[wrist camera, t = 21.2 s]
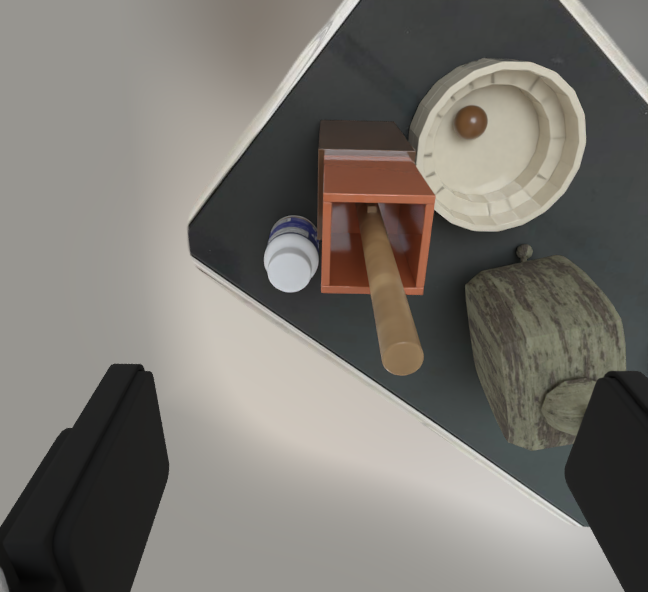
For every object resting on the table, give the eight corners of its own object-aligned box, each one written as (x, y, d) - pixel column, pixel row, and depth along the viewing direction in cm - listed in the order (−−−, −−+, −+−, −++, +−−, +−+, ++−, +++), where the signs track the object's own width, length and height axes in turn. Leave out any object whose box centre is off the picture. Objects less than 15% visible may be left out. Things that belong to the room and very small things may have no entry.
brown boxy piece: (320, 119, 47) (315, 185, 27) (394, 121, 47) (444, 188, 27) (319, 192, 50) (314, 298, 30) (388, 193, 50) (428, 301, 30)
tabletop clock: (543, 340, 58) (673, 528, 36) (466, 355, 59) (547, 546, 37) (537, 228, 52) (693, 374, 30) (451, 247, 53) (540, 401, 31)
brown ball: (500, 122, 44) (482, 133, 47) (482, 93, 43) (465, 106, 46) (475, 140, 43) (459, 150, 46) (457, 110, 43) (441, 123, 46)
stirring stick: (354, 216, 37) (380, 384, 19) (355, 184, 36) (383, 332, 18) (376, 216, 37) (421, 384, 19) (377, 184, 36) (427, 332, 18)
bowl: (415, 56, 44) (427, 59, 39) (573, 59, 44) (607, 63, 39) (400, 209, 51) (408, 230, 46) (537, 212, 51) (562, 233, 46)
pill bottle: (318, 261, 54) (316, 301, 46) (269, 259, 54) (260, 298, 46) (320, 215, 51) (319, 248, 43) (270, 212, 51) (260, 245, 43)
